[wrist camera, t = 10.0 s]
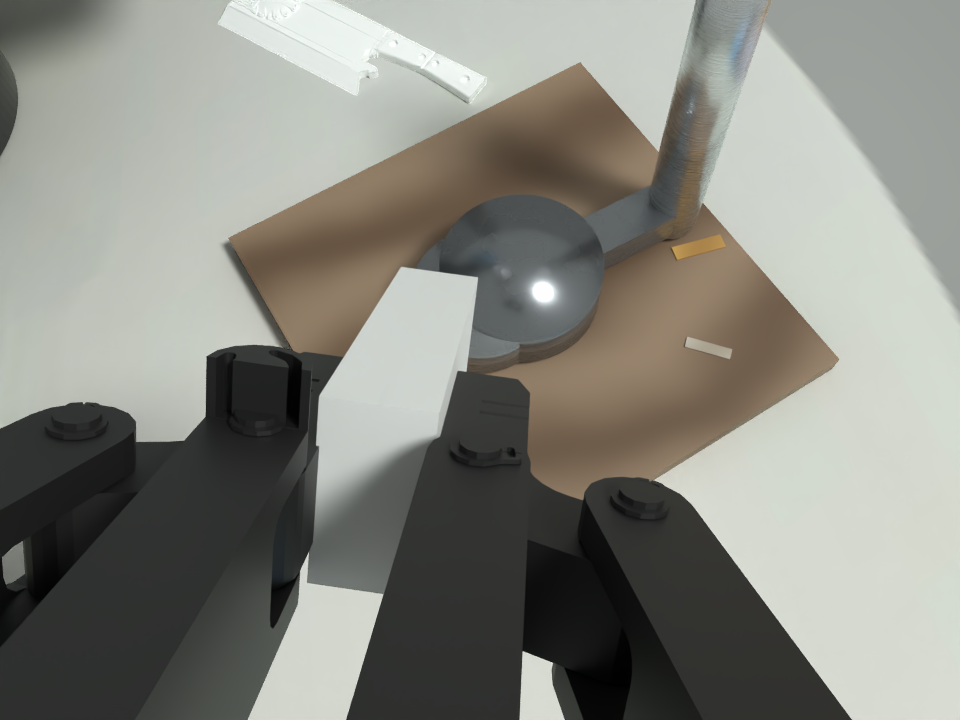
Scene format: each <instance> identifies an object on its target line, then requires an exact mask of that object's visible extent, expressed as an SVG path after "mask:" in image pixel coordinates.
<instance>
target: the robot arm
mask: <svg viewBox="0 0 960 720" xmlns="http://www.w3.org/2000/svg"><path fill="white" fill-rule="evenodd" d="M17 106H18V93H17V85H16V80H15V77H14V74H13V71H12V69H11V67H10V65H9V63H8V61H7V60H6V58H5V57H4V55H3V54H2V52H1V51H0V155H1V153H2V151H3V149H4V148H5V146H6V144H7V142H8V140H9V137H10V135H11V132H12V130H13V126H14V123H15V119H16V114H17ZM477 283H478V277H471V276H464V275H457V274H449V273H442V272H435V271H428V270H420V269H413V268H406V267H401V268H400V269H399V271H398V273H397V274H396V276H395V277H394V279H393V280H392V282H391V284H390V285H389V287H388V288H387V290H386V291H385V293H384V295H383V296H382V298H381V299H380V301H379V303H378V304H377V306H376V307H375V309H374V310H373V312H372V314H371V315H370V317H369V318H368V320H367V321H366V323H365V325H364V326H363V328H362V329H361V331H360V332H359V334H358V336H357V337H356V339H355V340H354V342H353V343H352V345H351V347H350V348H349V350H348V351H347V353H346V355H345V356H344V357H340V356H332V355H325V354H318V353H311V352H302V353H297V352H295V351H293V350H289V349H284V348H280V347H275V346H263V345H245V346H233V347H229V348H225V349H221V350H217V351H215V352H214V353H212V354H210V355H208V356H207V369H206V417H205V418H204V419H203V420H202V422H201V423H200V424H199V425H198V426H197V427H196V428H195V429H194V430H193V432H192V433H191V434H190V435H189V436H188V437H187V438H186V439H185V441H173V442H136V421H135V420H134V419H133V418H132V417H131V416H130V414H129V413H126V412H124V411H122V410H119V409H117V408H114V407H108V406H102V405H99V404H98V403H88V402H86V403H85V404H83V402H79V403H69V404H67V405H66V406H59V407H52V408H49V409H46V410H43V411H40V412H37V413H34V414H31V415H29V416H27V417H25V418H23V419H20V420H18V421H16V422H14V423H12V424H10V425H8V426H6V427H3V428H1V429H0V720H248V717H249V715H250V713H251V710H252V708H253V706H254V704H255V701H256V699H257V697H258V694H259V692H260V690H261V687H262V685H263V683H264V681H265V678H266V676H267V674H268V671H269V669H270V667H271V664H272V662H273V660H274V658H275V655H276V653H277V651H278V648H279V646H280V644H281V641H282V639H283V637H284V635H285V632H286V630H287V628H288V625H289V623H290V621H291V618H292V616H293V614H294V612H295V609H296V607H297V605H298V595H299V580H300V570H301V567H302V565H303V563H304V561H305V559H306V557H307V554H308V552H309V562H308V578H307V583H312V584H319V585H326V586H333V587H339V588H346V589H353V590H360V591H367V592H374V593H380V594H384V595H383V598H382V602H381V605H380V608H379V612H378V615H377V618H376V622H375V625H374V628H373V632H372V635H371V639H370V642H369V645H368V649H367V652H366V655H365V659H364V662H363V665H362V669H361V672H360V675H359V679H358V682H357V685H356V689H355V692H354V696H353V699H352V702H351V706H350V709H349V712H348V716H347V719H346V720H519V716H520V694H521V672H522V651H524V652H527V653H529V654H532V655H534V656H537V657H540V658H542V659H545V660H547V661H550V662H552V663H553V666H552V681H553V686H554V689H555V692H556V695H557V698H558V701H559V704H560V707H561V710H562V713H563V716H564V719H565V720H852V719H851V718H850V717H849V715H848V714H847V713H846V711H845V710H844V709H843V707H842V706H841V705H840V703H839V702H838V701H837V699H836V698H835V697H834V695H833V694H832V692H831V691H830V690H829V688H828V687H827V686H826V684H825V683H824V682H823V680H822V679H821V678H820V676H819V675H818V674H817V672H816V671H815V670H814V668H813V667H812V666H811V664H810V663H809V662H808V660H807V659H806V658H805V656H804V655H803V654H802V652H801V651H800V649H799V648H798V647H797V645H796V644H795V643H794V641H793V640H792V639H791V637H790V636H789V635H788V633H787V632H786V631H785V629H784V628H783V627H782V625H781V624H780V623H779V621H778V620H777V619H776V617H775V616H774V615H773V613H772V612H771V611H770V609H769V608H768V606H767V605H766V604H765V602H764V601H763V600H762V598H761V597H760V596H759V594H758V593H757V592H756V590H755V589H754V588H753V586H752V585H751V584H750V582H749V581H748V580H747V578H746V577H745V576H744V574H743V573H742V572H741V570H740V569H739V568H738V566H737V565H736V563H735V562H734V561H733V559H732V558H731V557H730V555H729V554H728V553H727V551H726V550H725V549H724V547H723V546H722V545H721V543H720V542H719V541H718V539H717V538H716V537H715V535H714V534H713V533H712V531H711V530H710V529H709V527H708V526H707V525H706V523H705V522H704V521H703V519H702V518H701V516H700V515H699V514H698V512H697V511H696V510H695V508H694V507H693V506H692V505H691V504H690V503H689V502H688V501H687V500H686V499H685V498H684V497H683V496H682V495H680V494H679V493H677V492H675V491H673V490H671V489H669V488H667V487H665V486H664V485H663V484H661V483H659V482H656V481H653V480H652V481H649V479H646V478H641V477H635V478H630V477H611V478H603V479H601V480H598V481H596V482H593V483H591V484H590V485H589V487H588V488H587V489H586V491H585V493H584V498H583V500H580V499H577V498H574V497H571V496H568V495H565V494H563V493H560V492H558V491H555V490H553V489H551V488H550V487H548V486H546V485H544V484H543V483H541V482H540V481H539V480H538V479H537V478H535V477H534V476H533V474H532V473H531V472H530V471H531V461H530V458H529V456H528V453H527V448H528V427H529V407H530V392H529V391H528V390H527V389H526V388H525V386H524V385H523V384H522V383H521V382H520V381H519V380H518V379H514V378H507V377H500V376H492V375H485V374H478V373H471V372H466V371H467V363H468V355H469V347H470V339H471V331H472V323H473V315H474V307H475V299H476V291H477ZM21 541H23V548H24V563H25V575H23V576H22V577H20V578H19V579H17V580H16V581H14V582H13V583H10V584H7V585H6V584H5V581H4V578H3V567H2V557H3V556H4V555H5V554H6V553H7V552H8V551H9V550H10V549H11V548H12V547H13V546H15V545H17V544H18V543H20V542H21Z"/></svg>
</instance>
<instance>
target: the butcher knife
mask: <svg viewBox="0 0 960 720" xmlns="http://www.w3.org/2000/svg"><path fill="white" fill-rule="evenodd" d="M333 1H334V0H333ZM333 1H331V0H232V1H231V2H230V3H229V4H227V7H226V9H225V11H224V13H223V15H222V16H221V18H220V20H219V22H218V24H219V25H221V26H223V27H225V28H227V29H229V30H231V31H232V32H234V33H236V34H238V35H240V36H242V37H244V38H246V39H248V40H250V41H252V42H253V43H255V44H257V45H259V46H261V47H263V48H265V49H267V50H269V51H271V52H272V53H274V54H276V55H277V54H278V56H280V55H281V57H282V58H284V59H286V60H288V61H290V62H292V63H294V64H296V65H297V66H299V67H301V68H303V69H305V70H307V71H309V72H311V73H313V74H315V75H317V76H319V77H320V78H322V79H324V80H326V81H328V82H330V83H332V84H334V85H336V86H338V87H340V88H341V89H343V90H345V91H347V92H349V93H351V94H353V95H355V96H358V90H359V84H360V78H363V77H369V78H377V77H378V76H379V75H378V70H377V67H375V66H374V65H371V64H369V63H367V61H368V59H369V58H377V59H378V58H379V57H380V58H382V59H385V60H388V61H390V62H393V63H396V64H398V65H401V66H403V67H406V68H408V69H411V70H413V71H416V72H418V73H420V74H422V75H424V76H426V77H428V78H429V79H431V80H433V81H434V82H436V83H438V84H439V85H441V86H442V87H444V88H446V89H447V90H449V91H450V92H452V93H453V94H455V95H456V96H458V97H459V98H461V99H462V100H464V101H465V102H467V103H468V104H470V103H471V102H472V101H473V99H474V98H475V97H476V96H477V95H478V93H479V92H480V91H481V90H482V89H483V87H484V86H485V85H486V84H487V78H486V77H484V76H482V75H480V74H478V73H476V72H474V71H472V70H470V69H468V68H466V67H464V66H462V65H460V64H458V63H456V62H454V61H452V60H450V59H448V58H446V57H444V56H442V55H440V54H438V53H435V52H434V51H432V50H430V49H428V48H426V47H424V46H422V45H420V44H418V43H416V42H414V41H412V40H410V39H408V38H406V37H404V36H402V35H400V34H398V33H396V32H394V31H393V32H394V33H393V32H392V30H391V29H389V28H387V27H385V26H383V25H382V26H381V24H380V25H379V23H378V24H377V22H376V23H375V21H374V22H373V20H372V21H371V19H370V20H369V18H368V19H367V17H366V18H365V16H364V17H363V15H362V14H360V13H358V12H356V11H354V10H353V11H354V12H353V11H351V10H352V9H351V10H349V9H350V8H349V9H347V8H348V7H347V8H345V7H346V6H345V7H343V6H344V5H343V6H341V5H342V4H341V5H339V4H340V3H339V4H337V3H338V2H337V3H335V2H336V1H335V2H333ZM355 12H356V13H355ZM357 13H358V14H357ZM359 14H360V15H359ZM361 15H362V16H361ZM390 30H391V31H390Z"/></svg>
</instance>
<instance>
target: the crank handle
mask: <svg viewBox="0 0 960 720" xmlns="http://www.w3.org/2000/svg"><path fill="white" fill-rule="evenodd" d="M771 1H772V0H696V3H695V7H694V11H693V15H692V19H691V23H690V27H689V31H688V35H687V39H686V43H685V48H684V52H683V56H682V60H681V64H680V68H679V72H678V76H677V80H676V84H675V88H674V92H673V97H672V101H671V105H670V109H669V113H668V117H667V121H666V125H665V129H664V133H663V137H662V142H661V146H660V150H659V154H658V158H657V162H656V166H655V170H654V174H653V178H652V182H651V185H649V186H647V187H645V188H643V189H641V190H639V191H637V192H635V193H633V194H631V195H629V196H627V197H625V198H623V199H621V200H619V201H617V202H615V203H613V204H611V205H609V206H607V207H605V208H603V209H601V210H598V211H596V212H594V213H592V214H590V215H588V216H586V217H584V218H583V217H581V216H580V215H579V214H578V213H577V212H575V211H574V210H573V209H571V208H569V207H568V206H566V205H564V204H562V203H560V202H557V201H555V200H553V199H549V198H546V197H542V196H536V195H525V194H518V195H507V196H501V197H498V198H494V199H491V200H488V201H486V202H483V203H481V204H479V205H477V206H476V207H474V208H472V209H471V210H469V211H468V212H467V213H465V214H464V215H463V216H462V217H461V218H460V219H459V220H458V221H457V222H456V223H455V224H454V225H453V227H452V228H451V229H450V231H449V233H448V234H447V236H446V238H445V239H443V240H441V241H440V242H438V243H437V244H435V245H434V246H433V247H432V248H431V249H429V250H428V251H427V252H426V254H425V255H424V256H423V257H422V258H421V260H420V261H419V263H418V265H417V266H416V269H420V270H428V271H435V272H442V273H449V274H457V275H464V276H471V277H478V283H477V291H476V299H475V307H474V315H473V323H472V331H471V339H470V347H469V355H468V363H467V371H468V372H476V373H486V372H494V371H499V370H503V369H506V368H509V367H511V366H513V365H515V364H517V363H519V362H520V363H521V362H534V361H540V360H544V359H547V358H551V357H553V356H555V355H558V354H560V353H562V352H564V351H565V350H567V349H569V348H570V347H571V346H573V345H574V344H575V343H576V342H578V341H579V339H580V338H581V337H582V336H583V335H584V334H585V333H586V331H587V330H588V329H589V327H590V325H591V324H592V322H593V320H594V317H595V314H596V312H597V308H598V303H599V297H600V292H601V287H602V282H603V277H604V270H606V269H608V268H610V267H612V266H614V265H616V264H618V263H620V262H621V261H623V260H625V259H627V258H629V257H631V256H633V255H635V254H637V253H639V252H641V251H643V250H645V249H647V248H649V247H651V246H653V245H655V244H657V243H659V242H661V241H663V240H665V239H677V238H681V237H684V236H685V235H687V234H688V233H690V232H691V231H692V229H693V228H694V226H695V223H696V220H697V217H698V214H699V211H700V208H701V205H702V202H703V199H704V197H705V194H706V191H707V188H708V185H709V182H710V179H711V176H712V173H713V170H714V167H715V164H716V162H717V159H718V156H719V153H720V150H721V147H722V144H723V141H724V138H725V135H726V132H727V129H728V127H729V124H730V121H731V118H732V115H733V112H734V109H735V106H736V103H737V100H738V97H739V94H740V92H741V89H742V86H743V83H744V80H745V77H746V74H747V71H748V68H749V65H750V62H751V59H752V57H753V54H754V51H755V48H756V45H757V42H758V39H759V36H760V33H761V30H762V27H763V24H764V22H765V18H766V15H767V13H768V10H769V7H770V4H771Z"/></svg>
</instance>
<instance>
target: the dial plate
mask: <svg viewBox="0 0 960 720" xmlns="http://www.w3.org/2000/svg"><path fill="white" fill-rule="evenodd" d="M658 154H659V152H658V151H657V150H656V149H655V148H654V146H653V145H652V144H651V143H650V142H649V141H648V140H647V138H646V137H645V136H644V135H643V134H642V133H641V132H640V130H639V129H638V128H637V127H636V126H635V125H634V124H633V122H632V121H631V120H630V119H629V118H628V117H627V116H626V114H625V113H624V112H623V111H622V110H621V109H620V107H619V106H618V105H617V104H616V103H615V102H614V101H613V99H612V98H611V97H610V96H609V95H608V94H607V93H606V91H605V90H604V89H603V88H602V87H601V86H600V85H599V83H598V82H597V81H596V80H595V79H594V78H593V77H592V75H591V74H590V73H589V72H588V71H587V70H586V69H585V67H584V66H583V65H582V64H581V63H578V64H576V65H574V66H572V67H570V68H568V69H566V70H564V71H562V72H560V73H558V74H556V75H554V76H552V77H550V78H548V79H546V80H544V81H542V82H540V83H538V84H536V85H534V86H532V87H530V88H528V89H526V90H524V91H522V92H520V93H518V94H516V95H514V96H512V97H510V98H508V99H506V100H504V101H502V102H500V103H498V104H496V105H494V106H492V107H490V108H488V109H486V110H484V111H482V112H480V113H478V114H476V115H474V116H472V117H470V118H468V119H466V120H464V121H462V122H460V123H458V124H456V125H454V126H452V127H450V128H448V129H446V130H444V131H442V132H440V133H438V134H436V135H434V136H432V137H430V138H428V139H426V140H424V141H422V142H420V143H418V144H416V145H414V146H412V147H410V148H408V149H406V150H404V151H402V152H400V153H398V154H396V155H394V156H392V157H390V158H388V159H386V160H384V161H382V162H380V163H378V164H376V165H374V166H372V167H370V168H368V169H366V170H364V171H362V172H360V173H358V174H356V175H354V176H352V177H350V178H348V179H346V180H344V181H342V182H340V183H338V184H336V185H334V186H332V187H330V188H328V189H326V190H324V191H322V192H320V193H318V194H316V195H314V196H312V197H310V198H308V199H306V200H304V201H302V202H300V203H298V204H296V205H294V206H292V207H290V208H288V209H286V210H284V211H282V212H280V213H278V214H276V215H274V216H272V217H270V218H268V219H266V220H264V221H262V222H259V223H257V224H255V225H253V226H251V227H249V228H247V229H245V230H243V231H241V232H239V233H237V234H235V235H233V236H231V237H229V240H230V242H231V244H232V246H233V248H234V250H235V251H236V253H237V255H238V257H239V258H240V260H241V262H242V264H243V265H244V267H245V269H246V271H247V272H248V274H249V276H250V277H251V279H252V281H253V283H254V284H255V286H256V288H257V290H258V291H259V293H260V295H261V297H262V298H263V300H264V302H265V303H266V305H267V307H268V309H269V310H270V312H271V314H272V316H273V317H274V319H275V321H276V322H277V324H278V326H279V328H280V329H281V331H282V333H283V335H284V336H285V338H286V340H287V342H288V343H289V345H290V347H291V348H292V350H293V351H295V352H297V353H302V352H311V353H318V354H325V355H332V356H340V357H344V356H345V355H346V353H347V351H348V350H349V348H350V347H351V345H352V343H353V342H354V340H355V339H356V337H357V336H358V334H359V332H360V331H361V329H362V328H363V326H364V325H365V323H366V321H367V320H368V318H369V317H370V315H371V314H372V312H373V310H374V309H375V307H376V306H377V304H378V303H379V301H380V299H381V298H382V296H383V295H384V293H385V291H386V290H387V288H388V287H389V285H390V284H391V282H392V280H393V279H394V277H395V276H396V274H397V273H398V271H399V269H400V268H401V267H406V268H413V269H416V266H417V265H418V263H419V261H420V260H421V258H422V257H423V256H424V255H425V254H426V252H427V251H428V250H429V249H431V248H432V247H433V246H434V245H435V244H437V243H438V242H440V241H441V240H443V239H445V238H446V236H447V234H448V233H449V231H450V229H451V228H452V227H453V225H454V224H455V223H456V222H457V221H458V220H459V219H460V218H461V217H462V216H463V215H464V214H465V213H467V212H468V211H469V210H471V209H472V208H474V207H476V206H477V205H479V204H481V203H483V202H486V201H488V200H491V199H494V198H498V197H501V196H507V195H518V194H525V195H536V196H542V197H546V198H549V199H553V200H555V201H557V202H560V203H562V204H564V205H566V206H568V207H569V208H571V209H573V210H574V211H575V212H577V213H578V214H579V215H580V216H581V217H583V218H584V217H586V216H588V215H590V214H592V213H594V212H596V211H598V210H601V209H603V208H605V207H607V206H609V205H611V204H613V203H615V202H617V201H619V200H621V199H623V198H625V197H627V196H629V195H631V194H633V193H635V192H637V191H639V190H641V189H643V188H645V187H647V186H649V185H651V182H652V178H653V174H654V170H655V166H656V162H657V158H658ZM838 360H839V358H838V357H837V356H836V355H835V354H834V353H833V351H832V350H831V349H830V348H829V347H828V346H827V345H826V343H825V342H824V341H823V340H822V339H821V338H820V337H819V335H818V334H817V333H816V332H815V331H814V330H813V329H812V327H811V326H810V325H809V324H808V323H807V322H806V321H805V319H804V318H803V317H802V316H801V315H800V314H799V313H798V311H797V310H796V309H795V308H794V307H793V306H792V305H791V303H790V302H789V301H788V300H787V299H786V298H785V297H784V295H783V294H782V293H781V292H780V291H779V290H778V288H777V287H776V286H775V285H774V284H773V283H772V282H771V280H770V279H769V278H768V277H767V276H766V275H765V274H764V272H763V271H762V270H761V269H760V268H759V267H758V266H757V264H756V263H755V262H754V261H753V260H752V259H751V258H750V256H749V255H748V254H747V253H746V252H745V251H744V250H743V248H742V247H741V246H740V245H739V244H738V243H737V242H736V240H735V239H734V238H733V237H732V236H731V235H730V234H729V232H728V231H727V230H726V229H725V228H724V227H723V225H722V224H721V223H720V222H719V221H718V220H717V219H716V217H715V216H714V215H713V214H712V213H711V212H710V211H709V209H708V208H707V207H706V206H705V205H704V204H703V203H702V205H701V208H700V211H699V214H698V217H697V220H696V223H695V226H694V228H693V229H692V231H691V232H690V233H688V234H687V235H685V236H684V237H681V238H677V239H665V240H663V241H661V242H659V243H657V244H655V245H653V246H651V247H649V248H647V249H645V250H643V251H641V252H639V253H637V254H635V255H633V256H631V257H629V258H627V259H625V260H623V261H621V262H620V263H618V264H616V265H614V266H612V267H610V268H608V269H606V270H604V277H603V282H602V287H601V292H600V297H599V303H598V308H597V312H596V314H595V317H594V320H593V322H592V324H591V325H590V327H589V329H588V330H587V331H586V333H585V334H584V335H583V336H582V337H581V338H580V339H579V341H578V342H576V343H575V344H574V345H573V346H571V347H570V348H569V349H567V350H565V351H564V352H562V353H560V354H558V355H555V356H553V357H551V358H547V359H544V360H540V361H534V362H521V363H520V362H519V363H517V364H515V365H513V366H511V367H509V368H506V369H503V370H499V371H494V372H486V373H478V374H485V375H492V376H500V377H507V378H514V379H518V380H519V381H520V382H521V383H522V384H523V385H524V386H525V388H526V389H527V390H528V391H529V392H530V407H529V427H528V448H527V453H528V456H529V458H530V461H531V471H530V472H531V473H532V474H533V476H534V477H535V478H537V479H538V480H539V481H540V482H541V483H543V484H544V485H546V486H548V487H550V488H551V489H553V490H555V491H558V492H560V493H563V494H565V495H568V496H571V497H574V498H577V499H580V500H583V498H584V493H585V491H586V489H587V488H588V487H589V485H590V484H591V483H593V482H596V481H598V480H601V479H603V478H611V477H630V478H635V477H641V478H646V479H649V481H652V480H654V479H656V478H658V477H659V476H661V475H662V474H664V473H666V472H667V471H669V470H670V469H672V468H674V467H675V466H677V465H678V464H680V463H682V462H683V461H685V460H686V459H688V458H690V457H691V456H693V455H694V454H696V453H698V452H699V451H701V450H702V449H704V448H706V447H707V446H709V445H711V444H712V443H714V442H715V441H717V440H719V439H720V438H722V437H723V436H725V435H727V434H728V433H730V432H731V431H733V430H735V429H736V428H738V427H739V426H741V425H743V424H744V423H746V422H747V421H749V420H751V419H752V418H754V417H755V416H757V415H759V414H760V413H762V412H763V411H765V410H767V409H768V408H770V407H771V406H773V405H775V404H776V403H778V402H779V401H781V400H783V399H784V398H786V397H787V396H789V395H791V394H792V393H794V392H795V391H797V390H799V389H800V388H802V387H804V386H805V385H807V384H808V383H810V382H812V381H813V380H815V379H816V378H818V377H820V376H821V375H823V374H824V373H826V372H828V371H829V370H831V369H832V368H833V367H834V365H835V364H836V363H837V362H838ZM466 372H468V371H466ZM471 373H476V372H471Z"/></svg>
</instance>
